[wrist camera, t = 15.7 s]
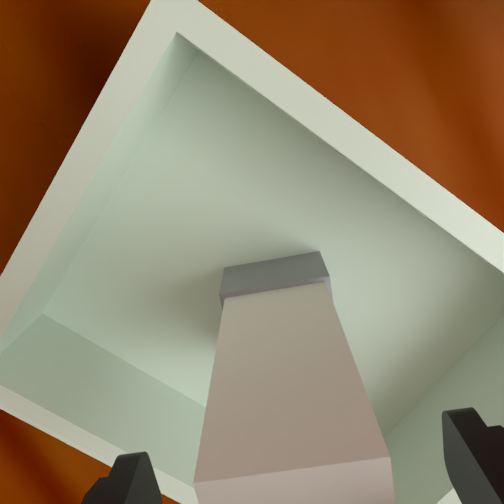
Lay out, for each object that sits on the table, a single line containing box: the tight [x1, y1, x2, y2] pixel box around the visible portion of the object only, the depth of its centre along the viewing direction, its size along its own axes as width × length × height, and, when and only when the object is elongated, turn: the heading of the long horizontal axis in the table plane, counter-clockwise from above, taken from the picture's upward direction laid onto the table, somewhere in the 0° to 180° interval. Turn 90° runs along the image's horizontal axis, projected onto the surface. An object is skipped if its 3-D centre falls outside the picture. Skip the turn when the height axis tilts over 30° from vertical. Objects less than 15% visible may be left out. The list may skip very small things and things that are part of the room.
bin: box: [0, 0, 504, 504], centre depth 19 cm, size 20×16×6 cm
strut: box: [193, 251, 395, 504], centre depth 15 cm, size 4×4×12 cm
